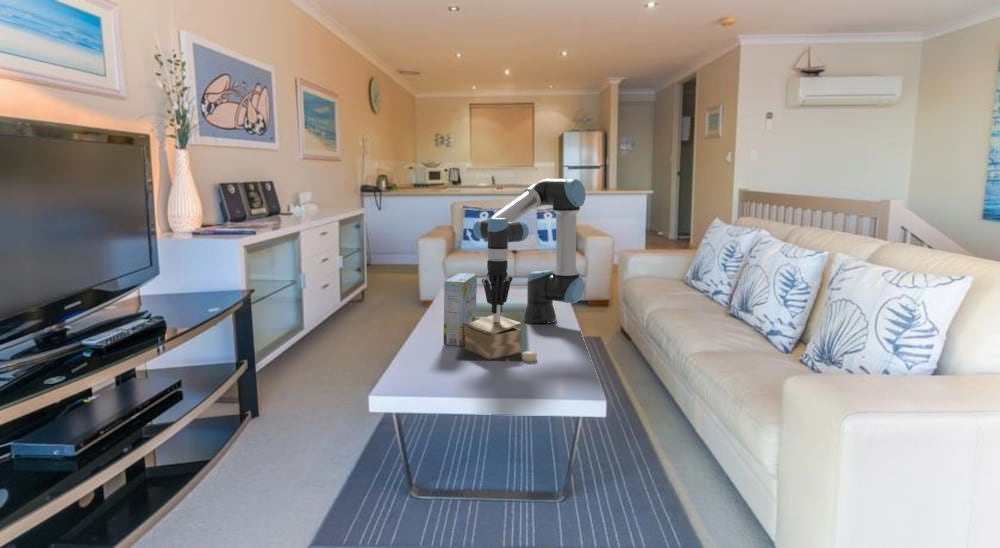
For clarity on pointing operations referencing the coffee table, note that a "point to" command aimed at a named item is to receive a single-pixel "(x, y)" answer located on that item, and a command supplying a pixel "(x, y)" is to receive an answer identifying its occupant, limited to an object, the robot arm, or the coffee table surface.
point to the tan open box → (493, 343)
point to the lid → (492, 325)
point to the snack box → (459, 307)
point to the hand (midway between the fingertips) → (496, 321)
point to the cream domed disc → (529, 356)
